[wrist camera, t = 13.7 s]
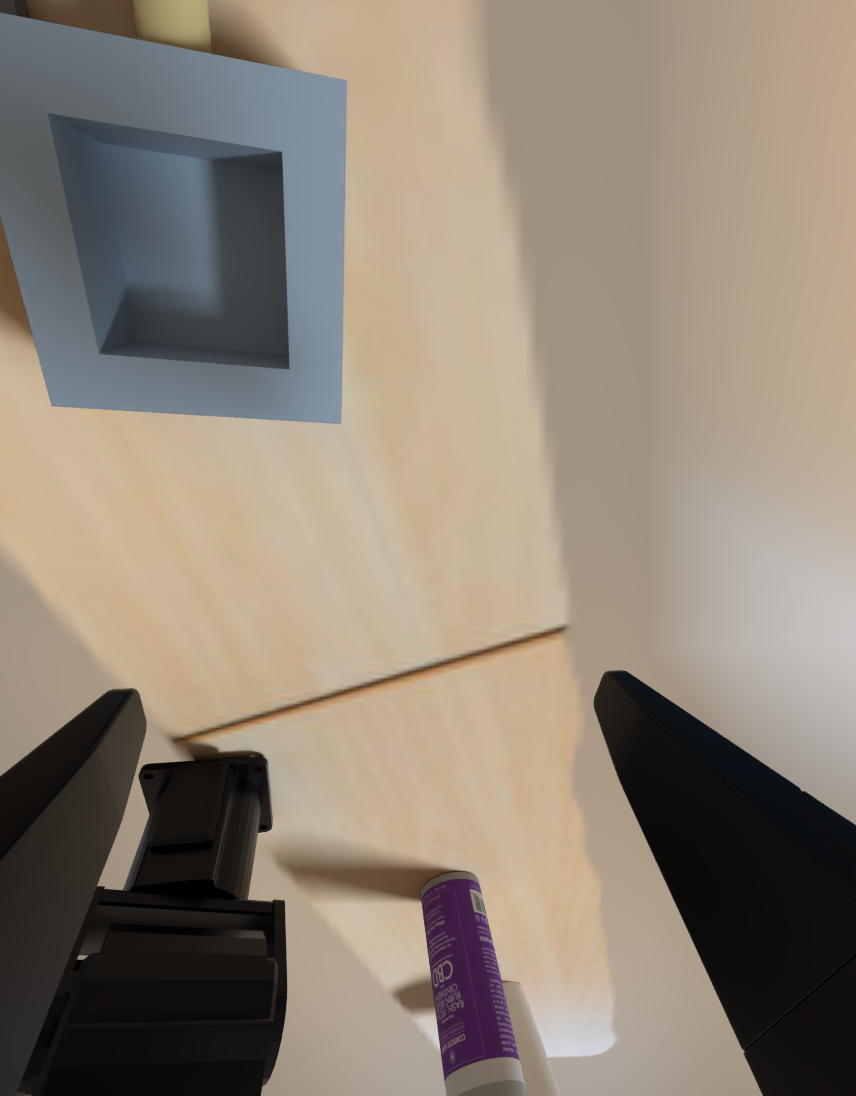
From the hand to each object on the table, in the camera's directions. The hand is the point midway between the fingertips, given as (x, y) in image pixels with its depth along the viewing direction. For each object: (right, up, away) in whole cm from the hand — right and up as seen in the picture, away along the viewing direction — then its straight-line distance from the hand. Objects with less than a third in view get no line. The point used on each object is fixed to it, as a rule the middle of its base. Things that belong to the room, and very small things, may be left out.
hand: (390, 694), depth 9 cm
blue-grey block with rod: (-6, +16, +4) cm, 17 cm away
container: (+2, -24, +28) cm, 37 cm away
